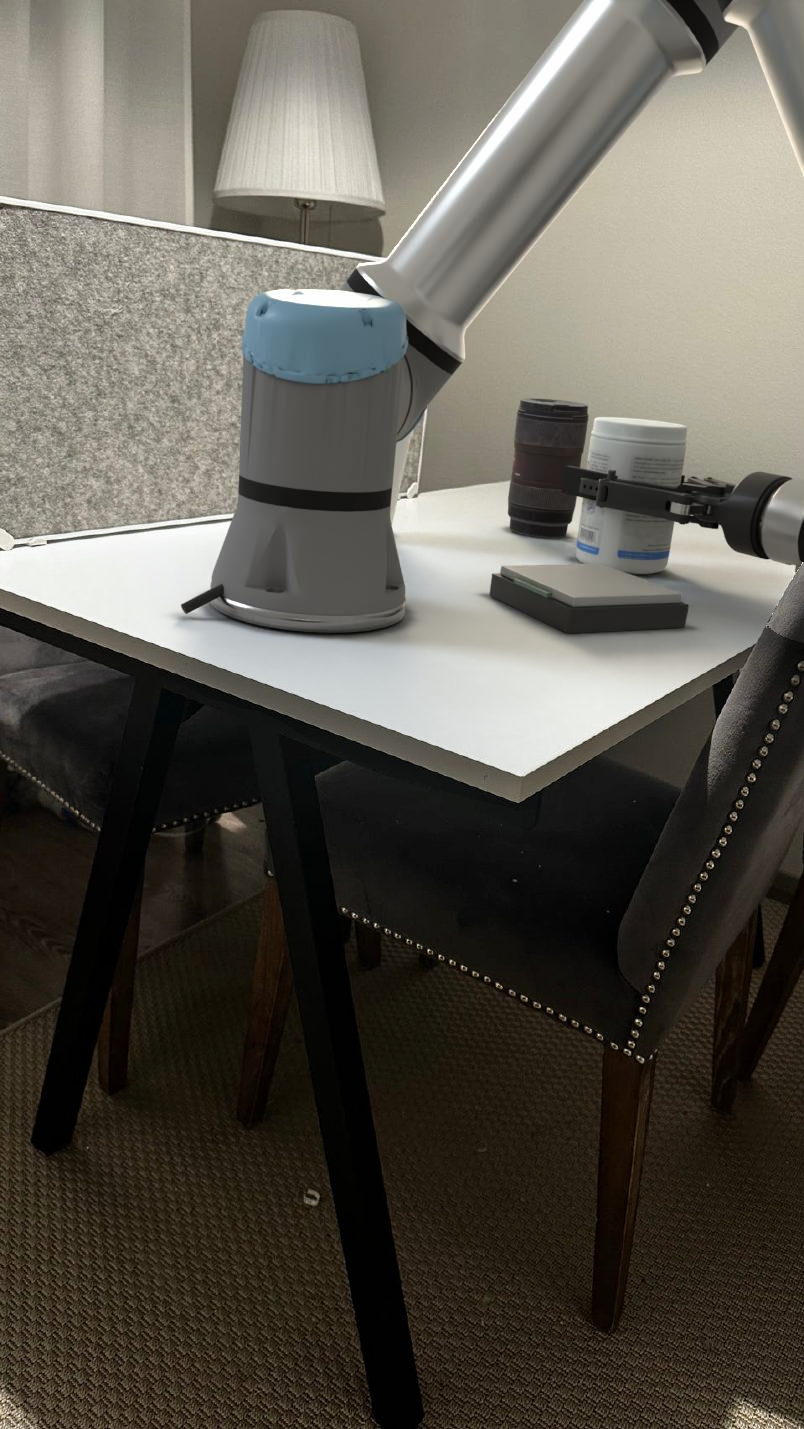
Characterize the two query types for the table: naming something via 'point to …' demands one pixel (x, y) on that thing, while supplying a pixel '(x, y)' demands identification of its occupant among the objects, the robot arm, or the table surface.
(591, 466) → the supplement tub
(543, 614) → the scale
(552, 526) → the camera lens
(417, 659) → the table surface
